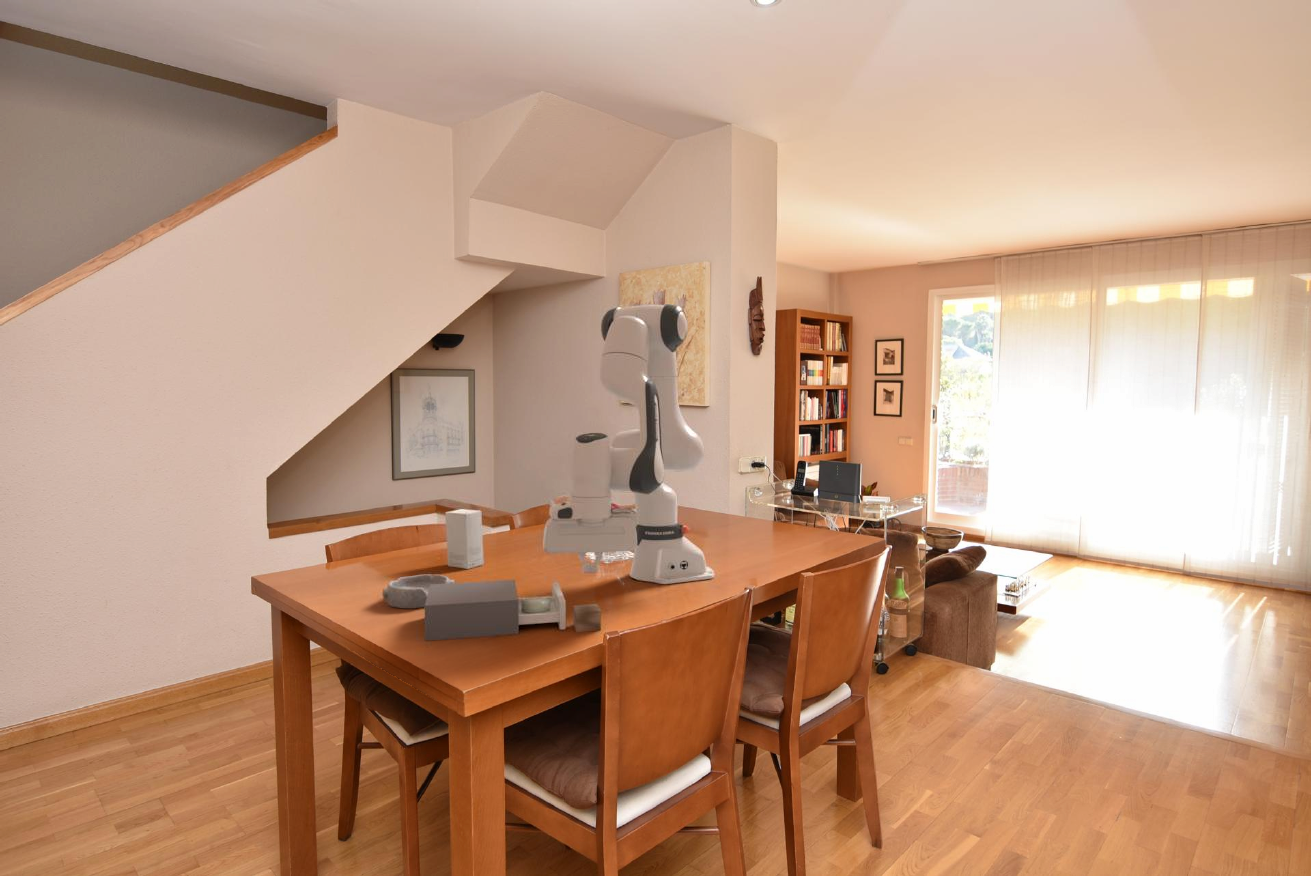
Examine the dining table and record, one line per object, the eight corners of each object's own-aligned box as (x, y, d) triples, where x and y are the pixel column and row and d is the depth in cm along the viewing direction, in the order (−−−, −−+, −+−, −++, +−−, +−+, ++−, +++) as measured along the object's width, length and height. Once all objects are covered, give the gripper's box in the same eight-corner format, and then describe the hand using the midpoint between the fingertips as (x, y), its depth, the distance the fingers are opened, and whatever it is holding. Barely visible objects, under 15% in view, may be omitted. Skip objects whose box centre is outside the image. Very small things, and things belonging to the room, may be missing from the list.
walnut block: (597, 622, 152) (597, 604, 151) (600, 630, 147) (600, 610, 146) (573, 624, 150) (573, 605, 150) (576, 631, 146) (576, 612, 145)
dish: (459, 595, 172) (459, 575, 172) (429, 612, 159) (428, 590, 159) (406, 591, 176) (405, 571, 175) (371, 607, 162) (371, 586, 162)
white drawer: (559, 607, 162) (559, 581, 162) (567, 628, 147) (567, 601, 146) (476, 612, 158) (475, 586, 157) (475, 635, 143) (474, 607, 142)
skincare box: (484, 565, 202) (483, 510, 201) (466, 570, 197) (465, 513, 196) (463, 561, 207) (462, 508, 206) (445, 566, 201) (444, 511, 200)
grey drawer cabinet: (515, 610, 160) (514, 579, 159) (518, 633, 144) (518, 599, 144) (431, 616, 156) (430, 584, 155) (425, 640, 140) (424, 605, 140)
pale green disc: (550, 605, 156) (550, 596, 156) (549, 613, 150) (549, 604, 150) (522, 606, 156) (522, 596, 156) (520, 613, 150) (520, 604, 150)
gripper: (634, 505, 160) (634, 567, 160) (542, 507, 155) (542, 571, 155) (641, 509, 154) (640, 573, 154) (544, 511, 149) (544, 577, 149)
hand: (590, 572), depth 155 cm, fingers closed
